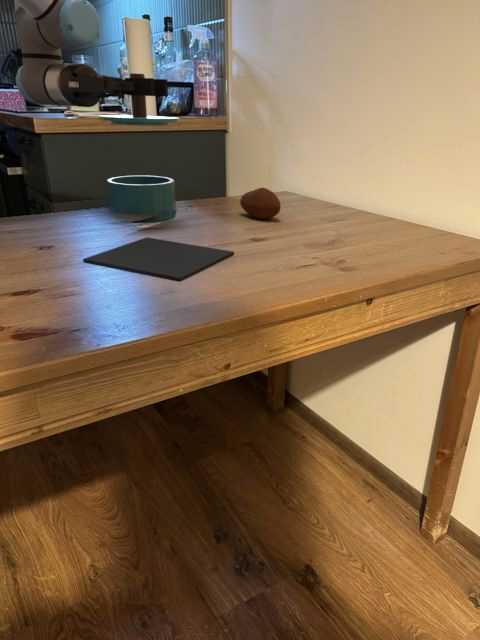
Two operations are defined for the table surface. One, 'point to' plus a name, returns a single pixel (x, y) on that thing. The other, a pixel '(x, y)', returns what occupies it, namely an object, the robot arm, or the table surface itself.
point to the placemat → (160, 258)
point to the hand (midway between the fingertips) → (159, 87)
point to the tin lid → (138, 113)
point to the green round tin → (143, 196)
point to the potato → (260, 203)
